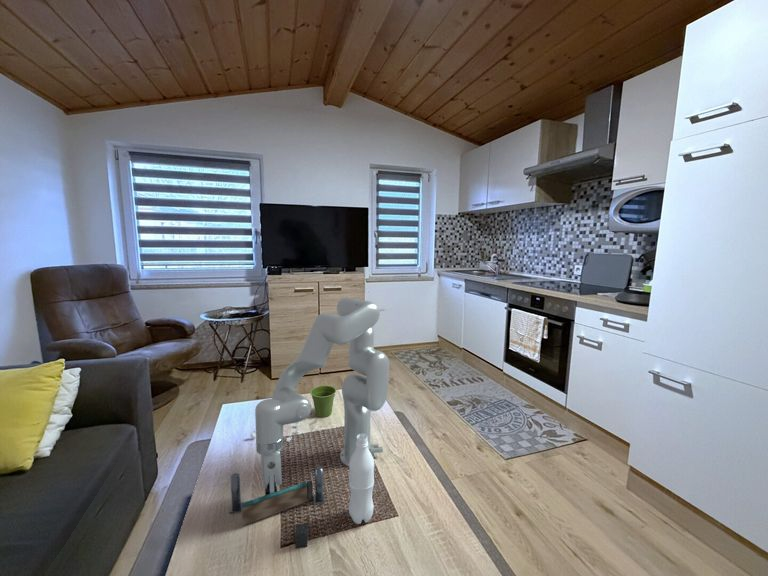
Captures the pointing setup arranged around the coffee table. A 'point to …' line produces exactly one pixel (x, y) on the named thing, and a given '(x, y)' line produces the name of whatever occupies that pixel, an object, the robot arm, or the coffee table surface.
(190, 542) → the coffee table surface
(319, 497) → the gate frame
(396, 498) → the coffee table surface
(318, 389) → the plant pot
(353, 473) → the water bottle
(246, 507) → the gate
